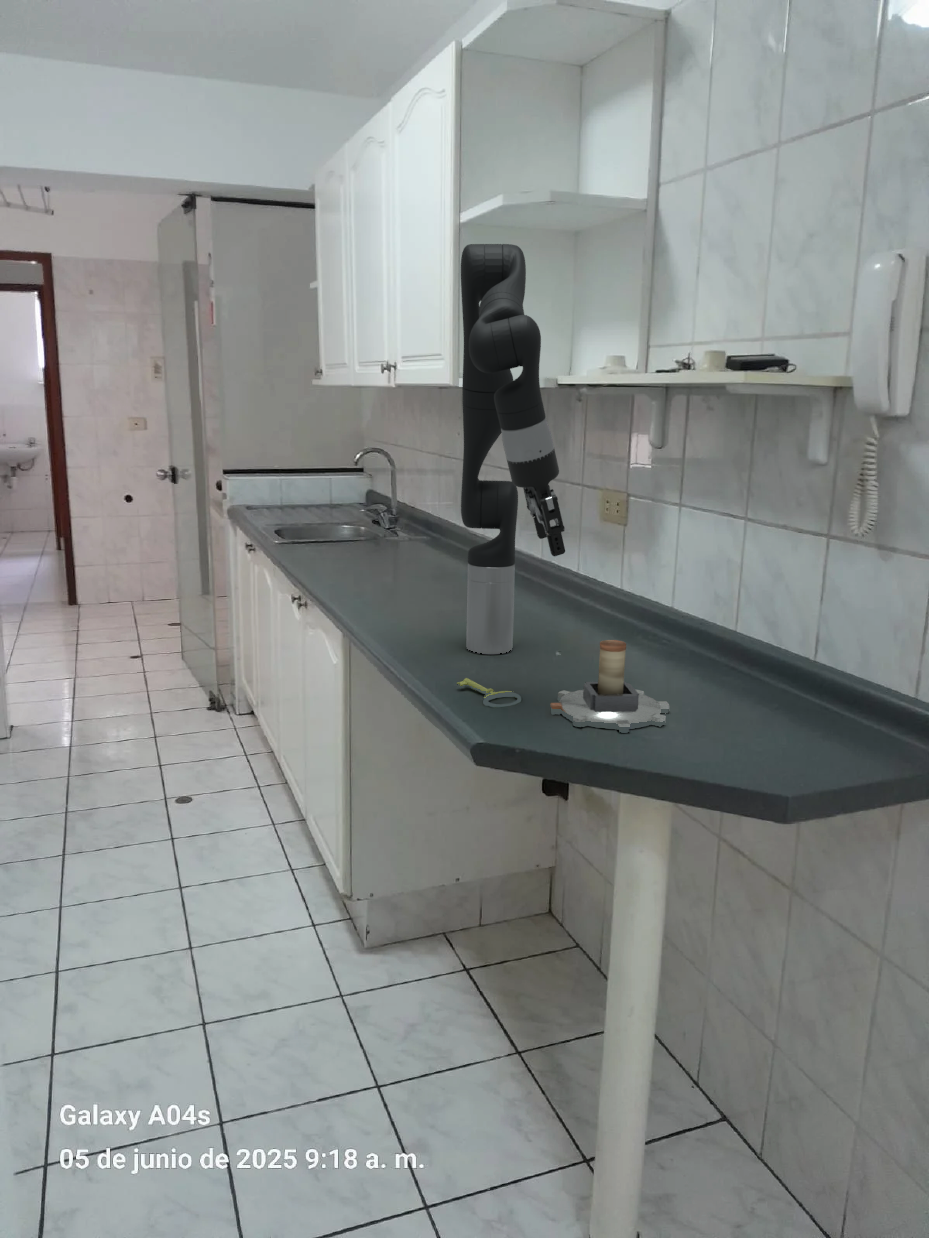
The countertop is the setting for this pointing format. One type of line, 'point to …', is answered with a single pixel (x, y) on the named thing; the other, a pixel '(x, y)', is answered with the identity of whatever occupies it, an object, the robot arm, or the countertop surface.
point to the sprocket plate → (610, 705)
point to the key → (479, 687)
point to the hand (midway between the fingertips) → (551, 545)
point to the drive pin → (611, 667)
